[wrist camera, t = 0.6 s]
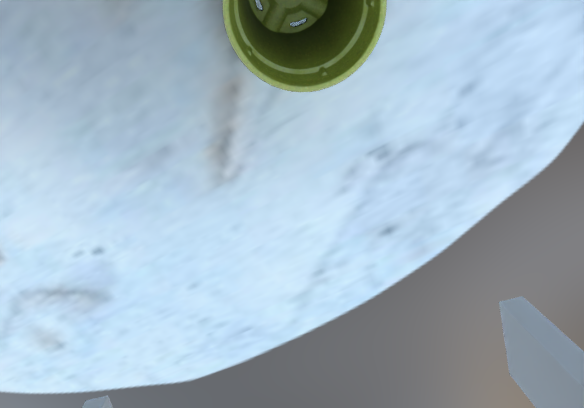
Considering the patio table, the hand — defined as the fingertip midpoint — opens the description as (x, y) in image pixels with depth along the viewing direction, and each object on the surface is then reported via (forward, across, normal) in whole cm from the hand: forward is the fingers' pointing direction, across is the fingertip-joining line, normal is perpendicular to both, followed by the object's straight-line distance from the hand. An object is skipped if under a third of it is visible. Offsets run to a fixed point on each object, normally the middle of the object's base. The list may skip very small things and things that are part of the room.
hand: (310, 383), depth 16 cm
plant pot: (+24, +4, +15) cm, 29 cm away
